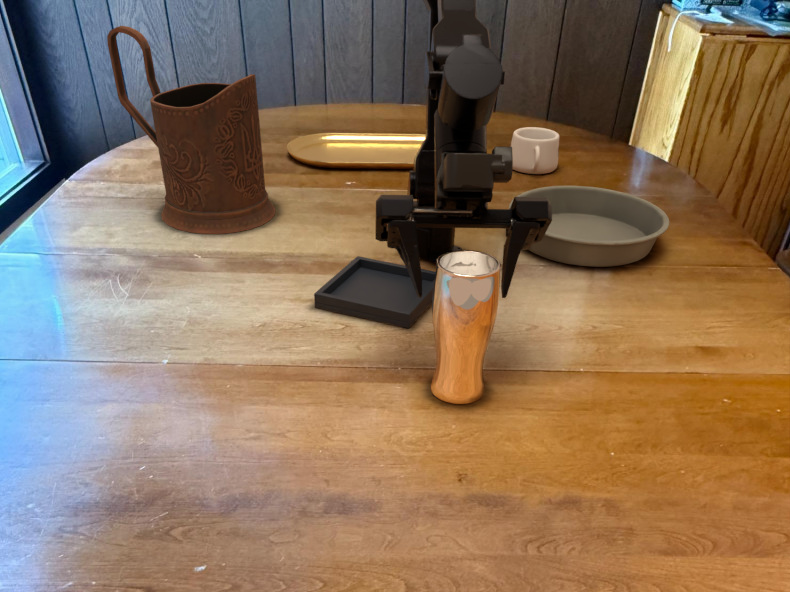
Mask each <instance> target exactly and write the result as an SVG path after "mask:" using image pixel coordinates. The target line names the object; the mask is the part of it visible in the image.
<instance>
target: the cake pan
mask: <svg viewBox="0 0 790 592" xmlns="http://www.w3.org/2000/svg"><path fill="white" fill-rule="evenodd" d="M515 197H546V198H547V200H548V201H549V202H550V204H551V205H552V222H551V224H550V225H549V227H548V229H547V231H546V233H545V235H544V237H543V239H542V241H540V242H537V243H532V245H531V247H530V249H527V251H530V252H531V253H533V254H535V255H536V256H537V255H538V256H539V257H542V258H545V259H547V260H551V261H555V262H558V263H562V264H566V265H567V264H568V265H573V266H580V267H593V268H596V267H597V268H604V267H607V268H608V267H609V268H610V267H619V266H623V265H630V264H632V263H635V262H638V261H640V260H642V259H644V258H645V257H646V256H648V254H649V253H650V252H651V250H652V249H653V246H654V244H655V243H656V241H657V239H658V237H661V236H662V235H663V234H665V233H666V231H668V229H669V226H670V219H669V216H668V215H667V214H666V212H665V211H664V210H663V209H661V207H659V206H657V205H656V204H654V203H652V202H650V201H649V200H647V199H644V198H641V197H639V196H636V195H633V194H630V193H627V192H622V191H618V190H614V189H609V188H603V187H597V186H596V187H595V186H588V185H587V186H585V185H552V186H543V187H538V188H533V189H529V190H527V191H524V192H522V193H520V194H518V195H516V196H515ZM513 200H514V198H513V199H512V200H511V201H510V203H509V205H508V209H510V207H511V205H512V202H513Z"/></svg>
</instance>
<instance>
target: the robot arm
mask: <svg viewBox="0 0 790 592" xmlns="http://www.w3.org/2000/svg"><path fill="white" fill-rule="evenodd" d="M422 1H423V4H424V6H425V8H426V10H427V13H428V26H427V27H428V31H427V32H428V34H427V50H425V54H424V69H423V73H424V74H423V84H424V85H423V86H424V89H426V101H425V102H426V103H425V104H426V105H425V109H426V110H425V134H426V136H425V140H424V141H423V143H422V145H421V147H420V149H419V150H418V152H417V154H416V156H415V158H414V169H413V170H409V173H408V181H407V190H406V194H380V195H379V197H377V199H376V200H375V215H374V216H375V220H374V221H375V224H374V225H375V226H374V227H375V231H374V232H375V240H377V241H379V242H386V247H387V248H388V249H395V250H396V251H397V254H398V255H399V257H400V258H401V260H402V262H403V265H405V266H406V268H407V270H408V273H409V275H410V278H411V280H412V283H413V286H414V288H415V291H416V293H417V296H418V297H422V274H421V269H422V267H421V259H422V260H425V261H429V262H431V263H434V264H437V259H438V258H439V257H440V256H441V255H442V254H444V253H447V252H451V251H456V250H463V247H461V246H458V245H455V236H456V229H505V237H506V239H505V242H504V244H503V249H502V251H503V252H502V264H501V278H500V291H501V299H506V298H507V296H508V293H509V290H510V287H511V283H512V280H513V276H514V273H515V270H516V268H517V263H518V261H519V257H520V255H521V252H522V251H528V249H530V247H531V245H532V243H537V242H540V241H542V239H543V237H544V235H545V233H546V231H547V229H548V227H549V225H550V224H551V222H552V205H551V204H550V202H549V201H548V200H547V198H546V197H516V196H514V197H513V199H514V200H513V199H512V200H513V202H512V205H511V207H510V209H509V208H489V206H488V203H492V200H493V196H494V195H493V190H494V186H495V185H494V184H497V183H498V184H503V183H504V184H507V183H509V182H510V181H511V180H512V178H513V169H512V168H513V156H512V147H510V146H495V147H493V149H492V150H491V153H488V146H487V145H488V138H487V132H488V131H487V128H488V127H487V125H488V124H489V122H490V120H491V118H492V116H493V111H494V109H495V104H496V101H497V97H498V94H499V90H500V87H501V85H504V84H505V76H506V75H505V74H506V71H505V70H504V69H503V65H502V64H501V61H500V59H499V57H498V56H497V53H496V52H494V51H493V50H492V46H491V37H490V31H489V29H488V28H487V27H486V26H485V25H484V24H483V23H482V22H481V21H480V20H478V15H477V0H422Z"/></svg>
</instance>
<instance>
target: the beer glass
mask: <svg viewBox="0 0 790 592" xmlns="http://www.w3.org/2000/svg"><path fill="white" fill-rule="evenodd" d="M501 268H502V264H501V262H500V260H499V259H498V258H497V257H495V256H494V255H492V254H490V253H487V252H483V251H479V250H474V249H472V250H471V249H462V250H456V251H451V252H447V253H444V254H442V255H441V256H440V257H439V258H438V259H437V263H436V267H435V272H436V273H435V279H434V287H433V297H432V303H431V317H432V318H431V319H432V329H433V339H434V345H435V357H436V358H435V368H434V372H433V376H432V380H431V383H430V390H431V393H432V394H433V395H434V396H435V397H436V398H437V399H439V400H441V401H443V402H445V403H449V404H455V405H464V404H470V403H471V404H472V403H473V402H476V401H478V400H479V399H480V398H481V399H482V397H483V395H484V393H485V382H484V381H485V380H484V363H485V358H486V354H487V350H488V347H489V344H490V341H491V337H492V336H493V335H492V334H493V331H494V328H495V324H496V319H497V316H498V309H499V301H500V300H499V299H500V290H501Z"/></svg>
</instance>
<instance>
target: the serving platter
mask: <svg viewBox="0 0 790 592" xmlns="http://www.w3.org/2000/svg"><path fill="white" fill-rule="evenodd" d="M425 136H426V133H425V134H424V133H423V134H422V133H376V132H375V133H373V132H371V133H370V132H369V133H368V132H367V133H366V132H365V133H364V132H359V133H358V132H320V133H311V134H307V135H303V136H299V137H297V138H293V140H291V141H289V142H288V144H287V146H286V150H287V152H288V154H289V155H290V156H291V157H292V158H293V159H294V160H295V161H298V162H300V163H302V164H304V165H308V166H313V167H317V168H323V169H324V168H325V169H361V170H362V169H365V170H366V169H370V170H372V169H375V170H377V169H378V170H414V158H415V156H416V154H417V152H418V150H419V149H420V147H421V145H422V143H423V141H424V140H425Z"/></svg>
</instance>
